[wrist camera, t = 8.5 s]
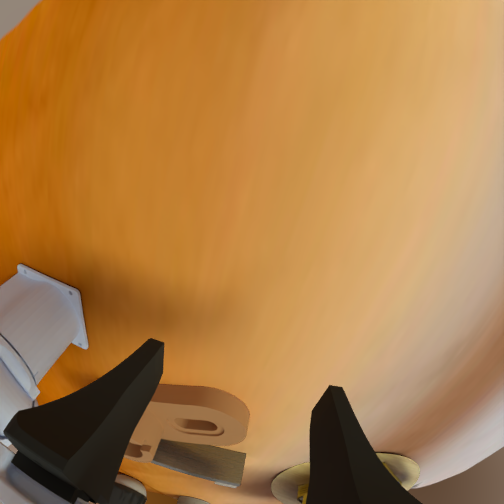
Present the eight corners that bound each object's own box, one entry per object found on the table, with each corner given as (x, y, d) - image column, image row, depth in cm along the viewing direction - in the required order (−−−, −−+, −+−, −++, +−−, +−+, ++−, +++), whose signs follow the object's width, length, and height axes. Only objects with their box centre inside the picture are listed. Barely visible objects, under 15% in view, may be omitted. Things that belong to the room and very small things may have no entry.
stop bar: (129, 430, 35) (117, 455, 30) (126, 417, 33) (113, 444, 28) (240, 463, 34) (234, 491, 30) (246, 453, 32) (240, 484, 28)
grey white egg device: (116, 477, 51) (98, 520, 37) (108, 464, 47) (86, 513, 33) (153, 491, 51) (137, 537, 37) (148, 480, 46) (129, 532, 32)
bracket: (128, 415, 33) (109, 453, 27) (99, 375, 30) (73, 415, 24) (256, 428, 29) (248, 478, 23) (240, 385, 26) (227, 444, 20)
